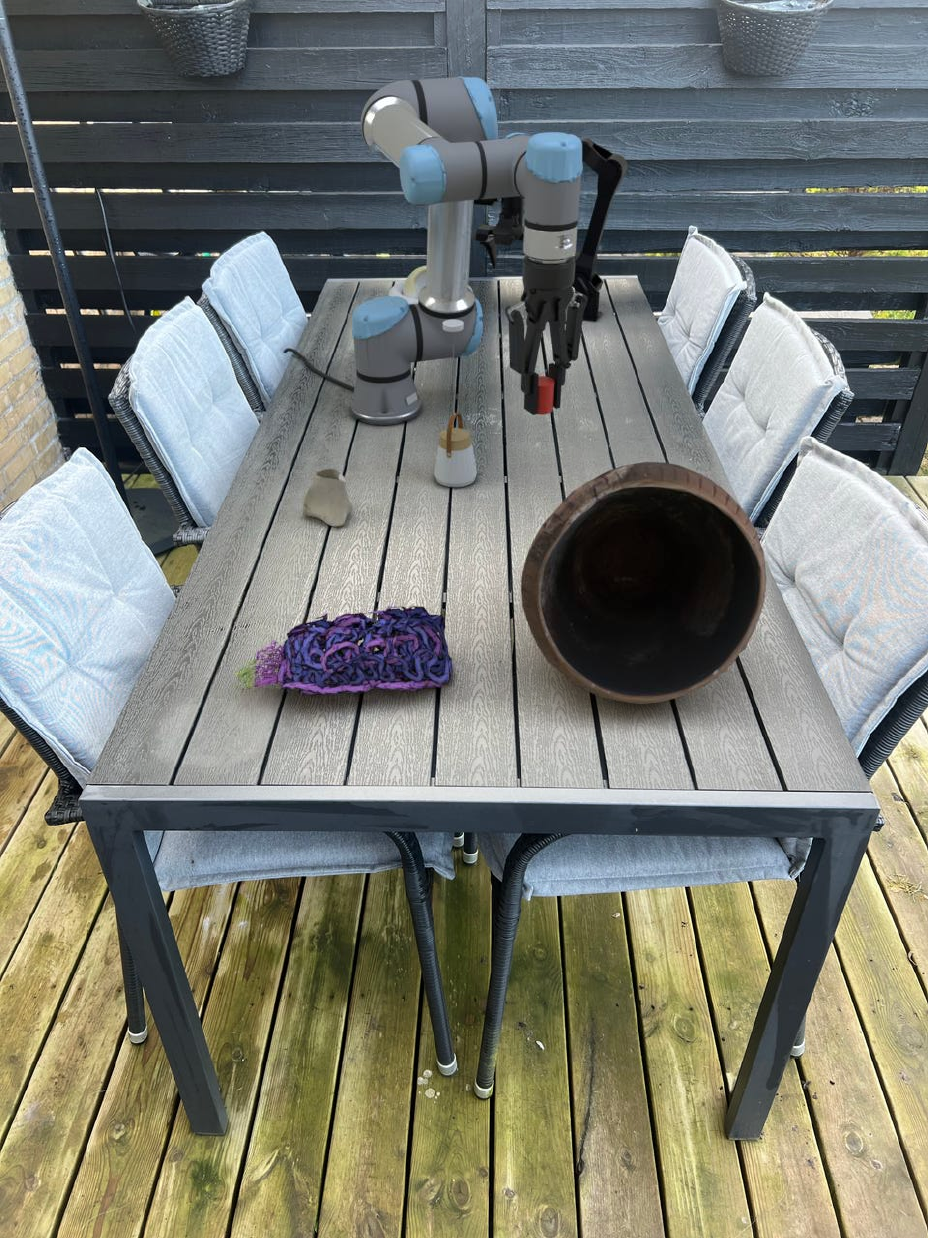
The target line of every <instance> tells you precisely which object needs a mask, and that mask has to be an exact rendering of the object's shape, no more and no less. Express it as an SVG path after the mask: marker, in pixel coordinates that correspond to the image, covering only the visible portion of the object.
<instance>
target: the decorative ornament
mask: <svg viewBox="0 0 928 1238" xmlns="http://www.w3.org/2000/svg"><path fill="white" fill-rule="evenodd" d="M401 608H402V609H400V607H398V606H391V605H390V606H387V608H386V609H385V610H375V611H369V612H357V613H347V612H346V613H345V614H341V615H339V616H336V617H335V619H333V620H328V613H325V614H323V615H322V616H317V617H316V618H314V620H313V621H309V622H303V623H300V624H298V625H294V627H292V628H291V629H290V630H289V631H288V632H287V633H286V636H287V639H286V640H284V643H283V644H280V645H278V646H277V644H278V641H277V640H274V639H273V640H272V641H270V643H268V644H269V646H265V649H264V648H262V649H261V650H260V651H259V650H258V651H257V653H256V655H255V656H254V657H255V658H254V659H253V660H252V661H250V663H248V664H247V665H245V666H243V667H241V668H239V669H238V670H236V673H235V675H236V677H235V679H238V681H239V683H238V684H237V686H236V688H235V690H238V689H240V687H239V686H242V685H243V684H244V685H243V686H242V687H241V689H242V690H241V693H243V692H244V690H251V689H260V688H261V689H260V690H262V691H263V688H264V686H266V688H267V690H268V689H269V690H270V689H273V687H269V688H268V686H271V685H276V689H280V690H285V692H286V693H289V691H290V690H298V691H297V693H298V695H301V696H310V697H311V696H312V697H317V696H331V695H342V694H347V693H348V694H365V693H370V690H395V691H397V690H402V691H403V692H404V693H405V692H419V691H420V690H421V689H433V688H434V689H436V688H438V689H439V688H442V684H444V683H445V684H446V683H450V680H451V677H452V673H453V672H454V670H453V658H452V657H451V656H450V654H449V652H450V651H449V647H448V643H447V640H446V635H445V633H444V630H445V629H446V621H445V617H444V616H443V614H430V613H429V612H428V610H427V609H426V608H425V607H424V606H419V605H418V606H416V605H412V606H410V607H405V606H401ZM366 614H376V618H377V619H376V618H375V619H374V618H370V617H368V616H367V615H366ZM373 621H375V622H373ZM360 641H361V642H360ZM359 642H360V644H359ZM276 646H277V647H276ZM376 649H377V650H376ZM265 653H267V655H265ZM251 666H253V667H251ZM265 666H266V667H265ZM253 674H254V675H253ZM425 675H426V676H425ZM278 685H280V686H278ZM277 686H278V687H277Z"/></svg>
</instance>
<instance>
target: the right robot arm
mask: <svg viewBox="0 0 928 1238" xmlns="http://www.w3.org/2000/svg"><path fill="white" fill-rule="evenodd" d="M580 140H581V143H582V162H584V163H585V164H586V165H587V166H588V167H589V168H590V169H591V170H592V171H593V172H594V173H596V174H597V175H598V176H597V182H596V183H597V184H596V185H597V186H596V187H597V188H596V189H597V190H596V192H597V193H596V198H595V202H594V206H593V209H592V213H591V217H590V220H589V224H588V227H587V231H586V234H585V238H584V242H583V244H582V245H583V246H582V247H581V248H582V249H581V251H580V252H577V251H576V253H575V254H574V255H573V257H574V259H575V276H574V283H573V284H572V288H573V290H574V292H579V293H581V294H583V295H585V296H587V297H588V302H587V304H586V307H585V309H584V312H583V320H582V321H589V322H590V321H591V322H596V321H598V319H599V318H600V317H601V316H602V314H603V311H599V309H600V308H599V307H600V297H601V296H600V295H601V292H600V290H601V289H602V287H603V285H604V280H603V279H602V277H601V276H600V275H599V274H598V273H597V268H598V252H599V248H600V245H601V241H602V237H603V234H604V231H605V227H606V224H607V221H608V216H609V214H610V210H611V207H612V202H613V200H614V197H615V195H616V193H617V191H618V189H619V188H620V185H621V183H622V182H623V180H624V177H625V175H626V173H627V170H628V162H627V160H626V158H625V157H624V156H623V155H621V154H619V153H613V152H611V151H610V150H608V149H607V148H605V147H603V146H601V145H599V144H597V143H596V142H594V141H593V140H592V139H591V138H588V137H583V138H582V139H580ZM524 200H525V199H524V198H522V197H521V196H514V197H503V198H491V199H478V200H474V201H473V206H474V205H477V206H491V207H495V206H496V205H497V203H499V202H500V212H499V215H498V221H497V223H495V225H493V224H492V225H491V224H482V225H481V226H479V227H477V228H476V229H475V230H474V241H476V242H479V245H483V247H485V249H486V251H487V253H488V256H489V260H490V262H491V265H492V268H493V269H496V268H497V261H498V245H505V246H510V245H512V244H513V241H521V242H522V241H523V238H524V215H525V208H524Z"/></svg>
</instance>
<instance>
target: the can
mask: <svg viewBox="0 0 928 1238" xmlns="http://www.w3.org/2000/svg"><path fill="white" fill-rule="evenodd" d="M553 397H554V380H553V379H552V378H550V377H548V376H545V375H544V376H543V375H539V383H538V405H537V414H536V415H548V414H551V413H552V412H553V411H554V407H553Z"/></svg>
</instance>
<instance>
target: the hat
mask: <svg viewBox="0 0 928 1238" xmlns="http://www.w3.org/2000/svg"><path fill="white" fill-rule="evenodd" d="M426 268H427V264H426V265H422V266H419V267H417V268H415V269H414V270H413V271H411V273H409V275H407V277H406V279H404V280H402V281H400V282H397V283H396V284H394V285H393V286H392V287H391V288H390V289H389V291H388V295H387V296H391V297H394V296H398V297H402V298H404V299H405V300H406V301H407V303H408V304H417V303H418V295H419V292H420V290H421V289H422V288H423V287H424V286H426ZM468 288H469V289H470V290H471V291H472V292H473V293H474V291H473V289H472V287H471V286H470V285H469V284H468Z"/></svg>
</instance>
